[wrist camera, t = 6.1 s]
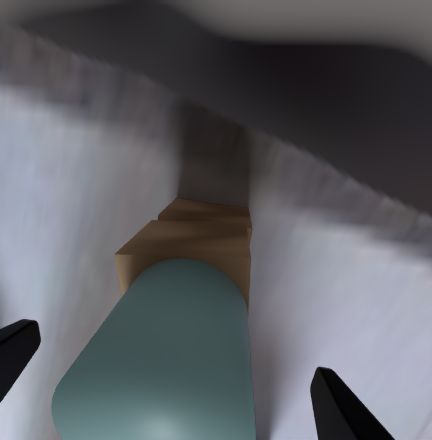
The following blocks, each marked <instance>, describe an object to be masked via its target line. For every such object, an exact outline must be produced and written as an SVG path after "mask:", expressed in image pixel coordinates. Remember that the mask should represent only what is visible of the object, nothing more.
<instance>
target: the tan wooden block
mask: <svg viewBox="0 0 432 440" xmlns="http://www.w3.org/2000/svg"><path fill="white" fill-rule="evenodd" d="M182 258H183V259H193V260H198V261H202V262H205V263H208V264H210V265H212V266H214V267H216V268H218V269H219V270H221V271H223V272H224V273H225V274H227V275H228V276H229V277H230V278H231V279H232V280H233V281H234V282H235V283H236V284H237V286H238V287H239V289H240V290H241V292H242V294H243V296H244V299H245V301H246V306H247V313H248V312H249V288H250V264H251V256H250V249H249V241H248V233H247V226H246V222H222V221H162V220H151V221H150V222H149V223H148V224H147V225H146V226H145V227H144V228H143V229H142V230H141V231H139V232H138V233H137V234H136V235H135V236H134V237H133V238H132V239H131V240H130V241H129V242H127V243H126V244H125V245H124V246H123V247H122V248H121V249H120V250H119V251H118V252H117V253H115V260H116V266H117V273H118V279H119V285H120V291H121V297H122V296H123V295H124V294H125V292H126V291H127V289H128V288H129V287H130V285H131V284H132V283H133V281H134V280H135V279H136V278H137V276H138V275H139V274H140V273H141V272H142V271H144V270H145V269H146V268H148V267H150V266H151V265H153V264H156V263H158V262H161V261H165V260H169V259H182Z"/></svg>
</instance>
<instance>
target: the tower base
mask: <svg viewBox="0 0 432 440" xmlns="http://www.w3.org/2000/svg"><path fill="white" fill-rule="evenodd" d="M158 220H162V221H222V222H246V226H247V233H248V241H249V244H250V239H251V233H252V224H251V219H250V213H249V208H242V207H235V206H228V205H221V204H214V203H207V202H200V201H193V200H186V199H179V198H176V199H175V200H174V201H173V202H172V203H171V204H170V205H168V206H167V207H166V208H165V209H164V210H163V211H162V212H161V213H160V214H159V215H158Z"/></svg>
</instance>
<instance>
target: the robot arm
mask: <svg viewBox="0 0 432 440" xmlns="http://www.w3.org/2000/svg"><path fill="white" fill-rule="evenodd" d="M40 342H41V337H40V331H39V325H38V322H37V321H35V320H29V319H22V320H19V321H17V322H15V323H13V324H10V325H8V326H6V327H4V328H1V329H0V402H1V401H2V400H3V398H4V397H5V396H6V394H7V393H8V392H9V390H10V389H11V387H12V386H13V384H14V383H15V381H16V380H17V378H18V377H19V375H20V374H21V373H22V371H23V370H24V368H25V367H26V365H27V364H28V362H29V361H30V359H31V358H32V356H33V355H34V354H35V352H36V351H37V349H38V347H39V345H40ZM310 393H311V399H312V405H313V411H314V417H315V423H316V429H317V435H318V440H395V439H394V438H393V437H392V436H391V434H390V433H389V432H388V431H387V430H386V429H385V428H384V427H383V425H382V424H381V423H380V422H379V421H378V420H377V419H376V418H375V416H374V415H373V414H372V413H371V412H370V411H369V410H368V409H367V408H366V406H365V405H364V404H363V403H362V402H361V401H360V400H359V399H358V397H357V396H356V395H355V394H354V393H353V392H352V391H351V390H350V388H349V387H348V386H347V385H346V384H345V383H344V382H343V381H342V379H341V378H340V377H339V376H338V375H337V374H336V373H335V372H334V371H333V370H332V369H330V368H325V367H318V368H317V369H316V371H315V374H314V377H313V380H312V383H311V387H310Z"/></svg>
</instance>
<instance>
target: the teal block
mask: <svg viewBox="0 0 432 440" xmlns="http://www.w3.org/2000/svg"><path fill="white" fill-rule="evenodd" d="M52 416H53V420H54V424H55V426H56V429H57V431H58V433H59V435H60V436H61V438H62V440H256V427H255V413H254V398H253V384H252V370H251V356H250V342H249V327H248V313H247V306H246V301H245V299H244V296H243V294H242V292H241V290H240V289H239V287H238V286H237V284H236V283H235V282H234V281H233V280H232V279H231V278H230V277H229V276H228V275H227V274H225V273H224V272H223V271H221V270H219V269H218V268H216V267H214V266H212V265H210V264H208V263H205V262H202V261H198V260H193V259H183V258H182V259H169V260H165V261H161V262H158V263H156V264H153V265H151V266H150V267H148V268H146V269H145V270H144V271H142V272H141V273H140V274H139V275H138V276H137V278H136V279H135V280H134V281H133V283H132V284H131V285H130V287H129V288H128V289H127V291H126V292H125V294H124V295H123V296H122V298H121V299H120V300H119V302H118V303H117V304H116V306H115V307H114V309H113V310H112V311H111V313H110V314H109V315H108V317H107V318H106V319H105V321H104V322H103V323H102V325H101V326H100V328H99V329H98V330H97V332H96V333H95V334H94V336H93V337H92V338H91V340H90V341H89V343H88V344H87V345H86V347H85V348H84V349H83V351H82V352H81V353H80V355H79V356H78V357H77V359H76V360H75V362H74V363H73V364H72V366H71V367H70V368H69V370H68V371H67V372H66V374H65V375H64V377H63V378H62V379H61V381H60V382H59V384H58V386H57V387H56V389H55V392H54V395H53V399H52Z"/></svg>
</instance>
